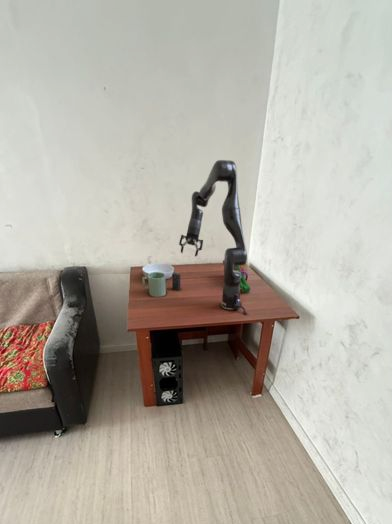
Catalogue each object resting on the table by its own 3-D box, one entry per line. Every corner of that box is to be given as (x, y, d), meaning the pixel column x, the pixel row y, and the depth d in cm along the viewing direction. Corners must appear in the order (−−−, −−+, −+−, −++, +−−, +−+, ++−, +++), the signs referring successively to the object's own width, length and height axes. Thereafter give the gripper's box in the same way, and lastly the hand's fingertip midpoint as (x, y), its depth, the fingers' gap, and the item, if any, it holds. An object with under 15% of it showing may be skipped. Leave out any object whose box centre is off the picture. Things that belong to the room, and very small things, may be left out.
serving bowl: (178, 281, 194) (178, 271, 190) (148, 286, 187) (147, 276, 182) (167, 270, 209) (167, 261, 205) (139, 274, 202) (138, 265, 198)
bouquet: (233, 303, 185) (219, 275, 204) (257, 300, 188) (241, 273, 207) (239, 276, 170) (223, 249, 189) (265, 274, 174) (247, 248, 193)
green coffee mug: (167, 290, 183) (166, 272, 176) (164, 297, 175) (163, 279, 168) (145, 288, 184) (144, 271, 177) (141, 295, 176) (139, 277, 169)
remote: (174, 287, 186) (174, 272, 181) (180, 289, 185) (180, 274, 179) (172, 288, 185) (171, 273, 179) (177, 290, 183) (177, 275, 177)
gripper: (183, 223, 173) (177, 251, 176) (206, 229, 175) (200, 256, 178) (182, 226, 181) (177, 252, 183) (204, 231, 182) (199, 258, 185)
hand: (188, 254), depth 181 cm, fingers open, 8 cm apart
